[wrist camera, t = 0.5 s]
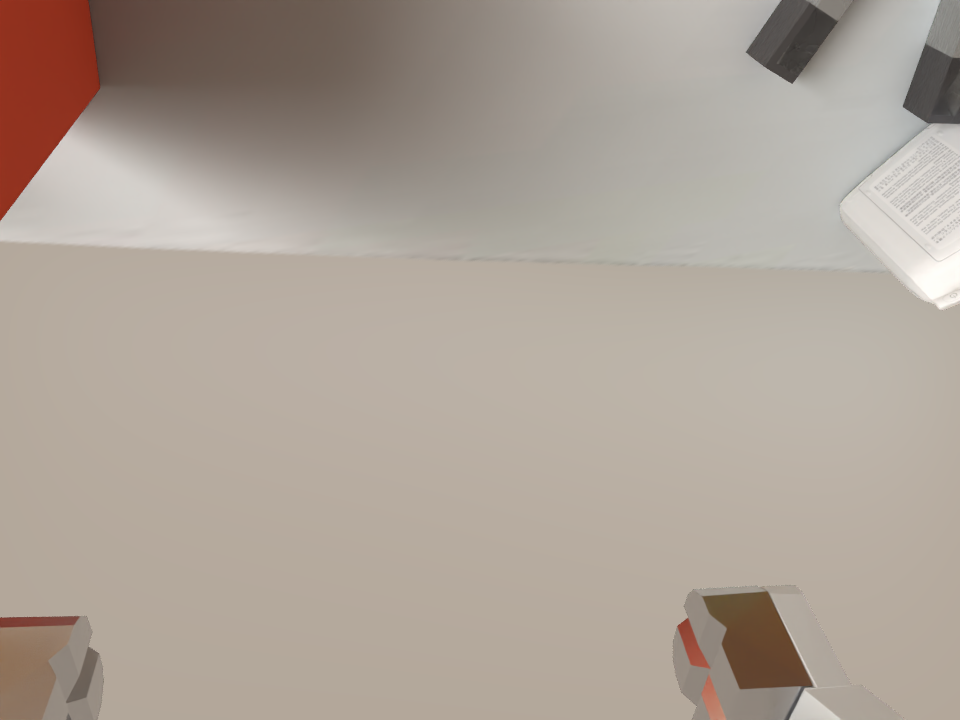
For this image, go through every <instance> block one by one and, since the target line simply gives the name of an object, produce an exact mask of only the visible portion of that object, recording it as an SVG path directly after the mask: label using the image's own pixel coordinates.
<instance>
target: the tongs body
mask: <svg viewBox="0 0 960 720" xmlns="http://www.w3.org/2000/svg"><path fill="white" fill-rule="evenodd" d="M903 107H904V108H905V109H907V110H908V111H910V112H911V113H913V114H914V115H916V116H917V117H919V118H920V119H922V120H924V121H925V122H927V123H942V124H960V0H941V2H940V5H939V8H938V11H937V13H936V16H935V19H934V22H933V24H932V27H931V30H930V33H929V35H928V38H927V41H926V44H925V47H924V49H923V52H922V55H921V58H920V60H919V63H918V66H917V69H916V71H915V74H914V77H913V80H912V82H911V85H910V88H909V91H908V94H907V96H906V99H905V102H904V105H903Z"/></svg>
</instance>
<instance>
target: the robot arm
mask: <svg viewBox="0 0 960 720" xmlns="http://www.w3.org/2000/svg"><path fill="white" fill-rule="evenodd" d="M684 607H685V610H686V613H687V615H688V618H687V619H686V620H685V621H683V622H682V623H681V624H679V625H678V626H677V629H676V633H675V636H674V640H673V662H674V668H675V673H676V677H677V681H678V683H679V686H680V690H681V692H682V693H683V694H684V695H685V696H686V697H687V698H688V699H689V700H691V701H692V702H693V703H694V704H695V705H696V706H697V707H696V710H695V713H694V715H693V718H692V720H906V719H905V718H904V717H902V716H901V715H900V714H899V713H897V712H896V711H895V710H893V709H892V708H891V707H890V706H888V705H887V704H886V703H884V702H883V701H882V700H881V699H879V698H878V697H877V696H875V695H874V694H873V693H872V692H870V691H869V690H868V689H866V688H865V687H864V686H863V685H851V683H850V681H849V679H848V677H847V675H846V673H845V672H844V670H843V668H842V666H841V664H840V662H839V660H838V659H837V656H836V655H835V653H834V651H833V649H832V647H831V645H830V643H829V641H828V639H827V637H826V636H825V634H824V632H823V630H822V628H821V626H820V624H819V622H818V621H817V619H816V617H815V615H814V613H813V611H812V609H811V608H810V606H809V604H808V602H807V600H806V598H805V596H804V594H803V592H802V591H801V590H800V589H799V588H798V587H796V586H795V585H781V586H762V587H758V586H745V587H728V588H727V587H726V588H708V589H693V590H692V591H691V592H690V593H689V594H688V596H687V599H686V602H685V605H684ZM91 635H92V629H91V626H90V624H89V621H88V618H87V616H64V617H12V618H11V617H9V618H2V617H1V618H0V720H97V719H98V716H99V712H100V708H101V703H102V693H103V683H104V678H103V667H102V662H101V658H100V655H99V653H98V652H96V651H95V650H93V649H91V648H90V647H89V642H90V639H91Z"/></svg>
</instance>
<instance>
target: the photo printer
mask: <svg viewBox="0 0 960 720" xmlns="http://www.w3.org/2000/svg"><path fill="white" fill-rule="evenodd" d="M840 216H841V219H842V222H843V223H844V224H845V226H846V227H847V228H848V229H849V230H850V231H851V232H852V233H853V234H854V235H855V236H856V237H857V238H858V239H859V240H860V241H861V242H862V243H863V244H864V245H865V246H866V247H867V248H868V249H869V250H870V251H871V252H872V253H873V255H874V256H875V257H876V258H877V259H878V260H879V261H880V262H881V263H882V264H883V265H884V266H885V267H886V268H887V269H888V270H889V271H890V272H891V273H892V274H893V275H894V276H895V277H896V278H897V279H898V280H899V281H900V282H901V283H902V284H903V285H904V286H905V287H906V288H907V289H908V290H909V291H910V292H911V293H913V294H914V295H915V296H917V297H918V298H919V299H921V300H923V301H926V302H929V303H933V304H934V305H935V306H936V307H937V308H938V309H940V310H945V309H948V308H951V307H953V306H956V305H959V304H960V124H942V123H932V124H930V125H929V126H928V127H927V128H926V129H924V130H923V131H922V132H921V133H919V134H918V135H917V136H916V137H914V138H913V139H912V140H911V141H910V142H908V143H907V144H906V145H905V146H904V147H902V148H901V149H900V150H899V151H898V152H896V153H895V154H894V155H893V156H892V157H891V158H889V159H888V160H887V161H886V162H885V163H883V164H882V165H881V166H880V167H879V168H877V169H876V170H875V171H874V172H873V173H872V174H870V175H869V176H868V177H867V178H866V179H865V180H863V181H862V182H861V183H860V184H859V185H858V186H857V187H856V188H854V189H853V190H852V191H851V192H850V193H849V194H848V195H847V196H846V197H845V198H844V199H843V201H842V202H841V203H840Z"/></svg>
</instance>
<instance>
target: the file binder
mask: <svg viewBox="0 0 960 720" xmlns="http://www.w3.org/2000/svg"><path fill="white" fill-rule="evenodd" d="M99 89H100V83H99V75H98V68H97V61H96V53H95V46H94V38H93V31H92V24H91V16H90V9H89V2H88V0H0V221H1V219H2V218H3V217H4V215H5V214H6V213H7V211H8V210H9V209H10V207H11V206H12V205H13V203H14V202H15V201H16V199H17V198H18V197H19V195H20V194H21V193H22V191H23V190H24V189H25V187H26V186H27V185H28V183H29V182H30V181H31V179H32V178H33V177H34V175H35V174H36V173H37V171H38V170H39V169H40V168H41V166H42V165H43V164H44V162H45V161H46V160H47V158H48V157H49V156H50V154H51V153H52V152H53V150H54V149H55V148H56V146H57V145H58V144H59V142H60V141H61V140H62V138H63V137H64V136H65V134H66V133H67V132H68V130H69V129H70V128H71V126H72V125H73V124H74V122H75V121H76V120H77V118H78V117H79V116H80V114H81V113H82V112H83V110H84V109H85V108H86V106H87V105H88V104H89V102H90V101H91V100H92V98H93V97H94V96H95V94H96V93H97V92H98V90H99Z"/></svg>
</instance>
